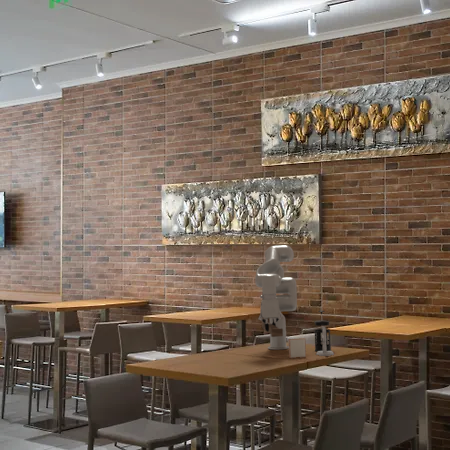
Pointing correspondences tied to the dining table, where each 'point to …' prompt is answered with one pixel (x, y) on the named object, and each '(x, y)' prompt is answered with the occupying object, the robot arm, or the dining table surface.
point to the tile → (297, 347)
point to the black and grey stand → (324, 346)
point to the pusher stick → (273, 330)
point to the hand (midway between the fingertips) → (270, 330)
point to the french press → (318, 332)
